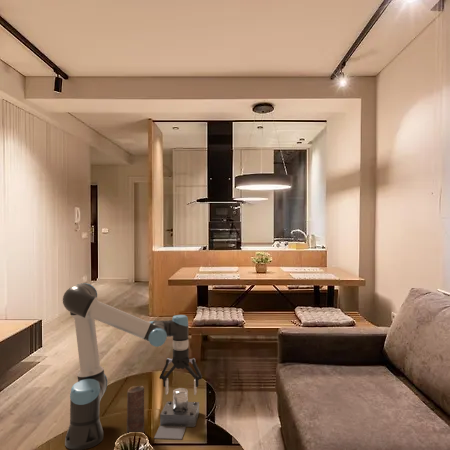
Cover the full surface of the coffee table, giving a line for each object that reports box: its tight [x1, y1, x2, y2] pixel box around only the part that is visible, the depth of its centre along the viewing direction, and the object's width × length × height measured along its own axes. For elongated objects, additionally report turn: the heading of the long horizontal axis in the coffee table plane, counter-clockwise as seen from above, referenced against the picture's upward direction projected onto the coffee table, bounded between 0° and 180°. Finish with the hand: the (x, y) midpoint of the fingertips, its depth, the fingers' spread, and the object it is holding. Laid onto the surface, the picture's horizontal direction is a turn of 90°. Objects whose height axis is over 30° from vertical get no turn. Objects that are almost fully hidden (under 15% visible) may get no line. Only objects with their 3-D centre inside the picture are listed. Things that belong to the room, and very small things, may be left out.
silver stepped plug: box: [172, 387, 189, 411], centre depth 172 cm, size 7×7×13 cm
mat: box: [153, 425, 187, 441], centre depth 159 cm, size 12×10×1 cm
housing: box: [159, 400, 200, 428], centre depth 172 cm, size 16×14×6 cm
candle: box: [126, 385, 145, 434], centre depth 158 cm, size 8×7×20 cm
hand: (181, 393), depth 172 cm, fingers open, 13 cm apart
